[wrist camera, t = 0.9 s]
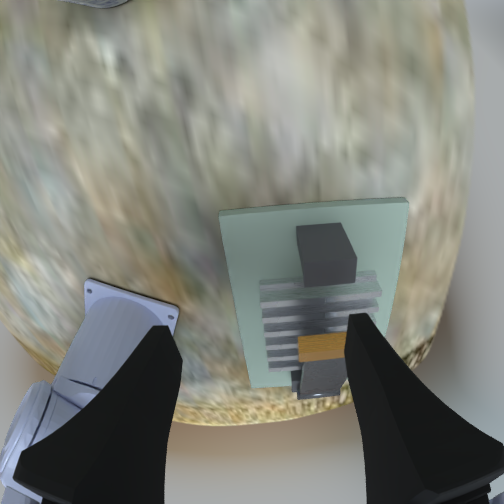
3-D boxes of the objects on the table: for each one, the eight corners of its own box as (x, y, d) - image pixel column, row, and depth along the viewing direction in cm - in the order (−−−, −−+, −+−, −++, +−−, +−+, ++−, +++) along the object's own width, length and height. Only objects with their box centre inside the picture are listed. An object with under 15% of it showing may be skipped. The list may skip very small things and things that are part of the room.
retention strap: (339, 385, 25) (341, 396, 25) (294, 390, 26) (295, 402, 25) (375, 324, 15) (379, 344, 14) (297, 332, 15) (299, 353, 15)
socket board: (372, 369, 28) (383, 409, 24) (251, 381, 29) (250, 423, 25) (404, 197, 19) (437, 233, 15) (219, 210, 20) (209, 252, 16)
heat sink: (361, 345, 25) (366, 363, 24) (268, 355, 26) (268, 374, 24) (374, 269, 21) (382, 287, 19) (259, 280, 22) (259, 299, 20)
